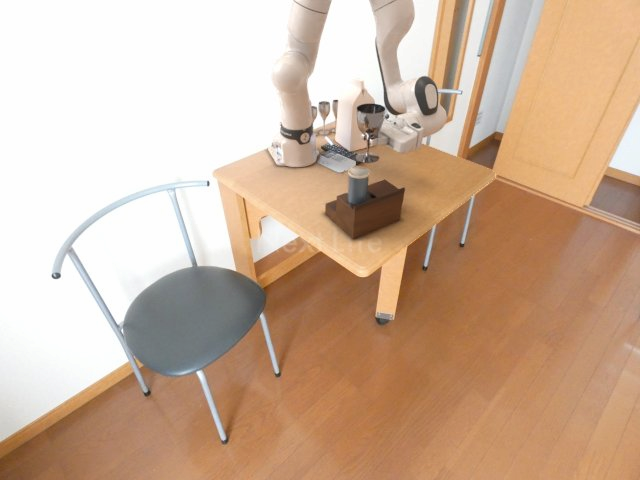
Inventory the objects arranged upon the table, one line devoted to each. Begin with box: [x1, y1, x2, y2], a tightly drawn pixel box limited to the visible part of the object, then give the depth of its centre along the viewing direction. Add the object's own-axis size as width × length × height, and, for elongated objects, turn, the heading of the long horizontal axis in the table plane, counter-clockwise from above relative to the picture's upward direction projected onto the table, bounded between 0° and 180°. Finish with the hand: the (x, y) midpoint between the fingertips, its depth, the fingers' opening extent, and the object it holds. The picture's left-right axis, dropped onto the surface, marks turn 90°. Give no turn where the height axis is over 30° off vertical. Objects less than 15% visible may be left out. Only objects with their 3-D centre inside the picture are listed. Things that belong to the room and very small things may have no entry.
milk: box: [334, 76, 376, 153], centre depth 149 cm, size 12×12×26 cm
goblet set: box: [311, 99, 339, 137], centre depth 163 cm, size 28×6×13 cm, turn 112°
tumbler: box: [346, 165, 371, 205], centre depth 103 cm, size 6×6×9 cm
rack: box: [324, 178, 406, 240], centre depth 113 cm, size 15×18×12 cm
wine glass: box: [355, 103, 386, 164], centre depth 108 cm, size 8×8×15 cm
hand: (366, 139), depth 108 cm, fingers closed on wine glass, 3 cm apart
